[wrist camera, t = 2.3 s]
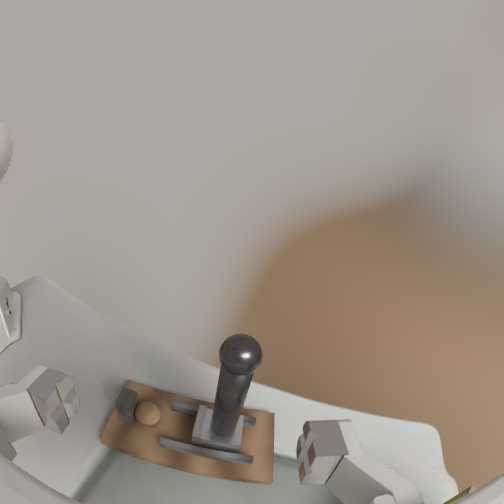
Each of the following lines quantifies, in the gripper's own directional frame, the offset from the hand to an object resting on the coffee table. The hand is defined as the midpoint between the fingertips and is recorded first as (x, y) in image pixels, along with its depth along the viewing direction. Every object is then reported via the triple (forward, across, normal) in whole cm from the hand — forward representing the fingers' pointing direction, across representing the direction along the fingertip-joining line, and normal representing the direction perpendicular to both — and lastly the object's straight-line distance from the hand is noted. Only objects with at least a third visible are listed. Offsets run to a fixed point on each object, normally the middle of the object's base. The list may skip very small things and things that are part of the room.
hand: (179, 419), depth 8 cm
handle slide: (+19, 0, +24) cm, 31 cm away
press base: (+19, +3, +26) cm, 32 cm away
